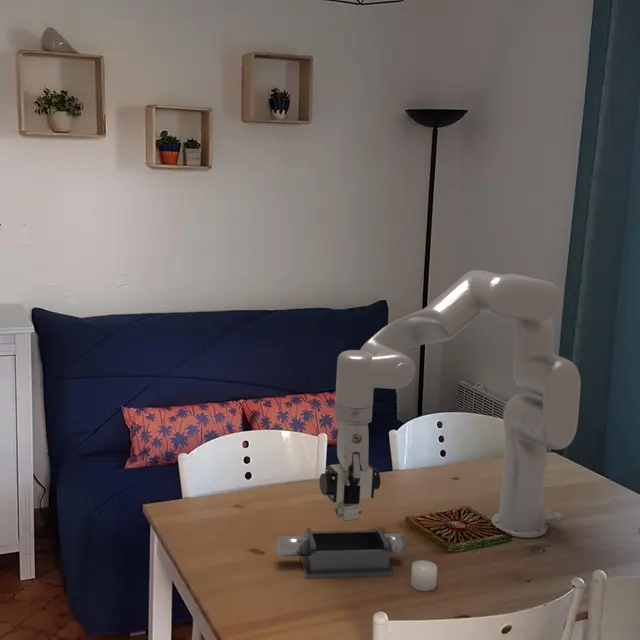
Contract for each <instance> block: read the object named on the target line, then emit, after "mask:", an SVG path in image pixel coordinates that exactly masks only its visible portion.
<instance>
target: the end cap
mask: <svg viewBox="0 0 640 640" xmlns="http://www.w3.org/2000/svg"><path fill="white" fill-rule="evenodd" d="M410 574H411V575H410V586H411V587H412V588H413V589H415V590H417V591H421V592H430V590H431V591H434V590H435V589H436V588H437V579H438V578H437V576H438V566H437V564H436V563H434V562H432V561H429V560H423V559H421V560H420V559H419V560H415V561H413V562H412V563H411V572H410ZM435 587H436V588H435Z"/></svg>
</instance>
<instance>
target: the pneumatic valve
mask: <svg viewBox="0 0 640 640" xmlns="http://www.w3.org/2000/svg"><path fill="white" fill-rule="evenodd" d="M349 470H353V467H349ZM352 474H353V473H349V479H350V476H353V475H352ZM360 475H361V477H360V500H368V499H369V500H370V499H374V497H375V494H376V491H377V490H379V489H380V486H381V475H380V472H379V470H378V469H377V468H376V467H375V468H374V467H373V466H372V465H371V463H368V470H367V471H366V472H364V471H363V470H362V468H361V466H360ZM345 485H346V471H345V470H344V469H343V467H342V466H341V464H340V463H337V464H327V465H326V468H325V470H324V473H321V474H320V476H319V490H320V492H321V494H322V495H323V496H326V497H328V499H329V500H330V501H332V502H331V503H336V505H335V506H334V514H335V516H336V517H337V518H340V520H341V521H343V522H346V521H354V520H359V519H360V515H362V512H363V506H362V503H361V502H359V503H358V504H344V502H343V501H344V486H345ZM360 500H359V501H360Z"/></svg>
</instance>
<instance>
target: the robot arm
mask: <svg viewBox="0 0 640 640" xmlns="http://www.w3.org/2000/svg"><path fill="white" fill-rule="evenodd" d="M562 304H563V297H562V292H561V290H560V289H559V287H558V286H557V285H555V284H554V283H553V282H551V281H548V280H544V279H539V278H534V277H531V276H526V275H522V274H517V273H505V274H500V273H497V272H491V271H486V270H482V269H481V270H480V269H474V270H469V271H468V272H466V273H464V274H463V275H462V276H461V277H459V279H457V280H456V281H455V282H454V283H453V284H452V285H450V286H449V287H448V288H447V289H445V290H444V291H443V292H442V293H440V295H439V296H438V297H437V298H435V299H434V300H433V301H432V302H431V303H429V304H428V305H427V306H426V307H424V308H422V309H420V310H418V311H415V312H413V313H410V314H408V315H406V316H404V317H401V318H399V319H396V320H394V321H392V322H389V323H388V324H387V325H385V326H383V327H382V328H381V329H380V330H379V331H377V332H376V333H375V334H374V335H373V336H371V337H370V338H369V339H368V340H366V342H365V343H364V344H363V345H362V346H361V348H360V349H348V350H345V351H342V352H341V353H339V355H338V356H337V363H336V379H335V382H336V383H335V396H334V397H335V398H334V399H335V400H334V415H333V416H334V420H335V421H336V422H338V425H337V426H338V427H337V428H338V429H337V441H336V455H337V458H338V459H337V460H338V461H339V464H341V466H342V467H343V469H344V470H345V471H346V485H345V486H344V501H343V502H344V504H358V503H360V477H361V475H360V466H361V468H362V470H363V471H364V472H366V471H367V470H368V464H369V445H370V444H369V441H370V440H369V436H370V435H369V423H371V422H372V420H373V418H372V417H373V407H374V405H373V404H374V389H376V388H377V389H389V390H390V389H391V390H397V389H402V388H405V387H407V386H408V385H409V384H411V382H412V381H413V380H414V378H415V375H416V366H415V362H414V361H413V359H412V358H410V356H408V355H407V354H405V353H404V352H405V351H407V350H410V349H412V348H414V347H419V346H423V345H428V344H429V345H430V344H439V343H443V342H449V341H451V340H452V339H454V338H455V337H456V336H457V335H458V334H459V333H461V331H463V330H464V329H465V328H466V327H468V325H470V324H471V323H472V322H473V321H474V320H476V319H477V318H478V317H479V316H480V315H481V314H483V313H485V314H488V315H492V316H496V317H500V318H506V319H510V320H511V322H512V324H513V328H514V330H513V331H514V344H513V361H512V377H513V378H512V379H513V381H514V383H515V384H516V385H517V386H518V387H519V388H521V389H523V390H525V391H527V392H529V393H532V394H529V393H519V394H516V395H514V396H512V397H511V398H510V399H508V401H507V402H506V404H505V406H504V410H503V414H502V415H503V417H502V418H503V419H502V420H503V428H504V454H503V455H504V457H503V465H502V466H503V467H502V476H501V477H502V478H501V490H500V502H499V510H498V512H497V513H495V514H494V515H492V517H491V524H492V523H493V525H494V526H496V527H497V528H499V529H501V530H503V531H505V532H508V533H510V534H511V535H512V537H516V538H522V539H524V538H525V539H527V538H528V539H529V538H530V539H531V538H539V537H542V536H543V535H545V534H546V533H547V531H548V524H547V523H549V522H550V521H553V522H560V521H561V520H562V513H561V512H557V511H556V512H553V511H552V509H550V508H548V509H543V502H544V501H543V500H544V492H545V491H544V490H545V483H546V472H547V471H546V470H547V462H548V453H547V448H548V449H552V450H562V449H565V448H567V447H568V446H569V445H570V444H572V442H573V440H574V438H575V436H576V435H577V434H576V433H577V431H578V430H577V429H578V424H579V422H578V421H579V411H580V409H579V408H580V399H581V386H582V383H581V381H582V380H581V375H580V372H579V370H578V368H577V367H578V366H576V365H575V363H574V362H572V361H571V360H569V359H567V358H565V357H563V356H559V355H556V354H555V349H554V348H555V346H554V345H555V344H554V343H555V341H554V339H555V338H554V337H555V336H554V335H555V334H554V333H555V329H554V323H553V318H554V317H555V316H556V315H558V314H559V313H558V312H559V311H560V309H561V307H562ZM535 394H536V395H537V396H536V395H535ZM539 396H540V397H539ZM349 467H353V470H349ZM349 473H353V474H352V475H353V476H350V479H349ZM493 525H492V526H493ZM511 535H510V536H511Z"/></svg>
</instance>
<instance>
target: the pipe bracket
mask: <svg viewBox="0 0 640 640" xmlns="http://www.w3.org/2000/svg"><path fill="white" fill-rule="evenodd" d="M311 529H312V528H309V527H308V528H307V527H306V528H305V531H304V535H296V536H295V535H294V536H292V535H290V536H289V535H287V536H278V538H277V556H278V557H279V558H284V557H286V558H288V557H300V561H301V563H302V565H301V566H302V568H303V571H304V575H305V579H325V578H328V579H330V578H356V577H358V578H359V577H360V578H361V577H385V576H386V577H387V576H389V577H390V576H391V577H392V576H395V570H394V568H393V566H392V564H391V562H390V554H391V555H392V554H404V553H405V548H406V541H405V536H404V533H384V532H383V529H382V527H381V526H375V529H365V530H364V529H362V530H361V529H360V530H358V529H357V530H353V529H352V530H319V531H317V530H315V531H313V530H311Z"/></svg>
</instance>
